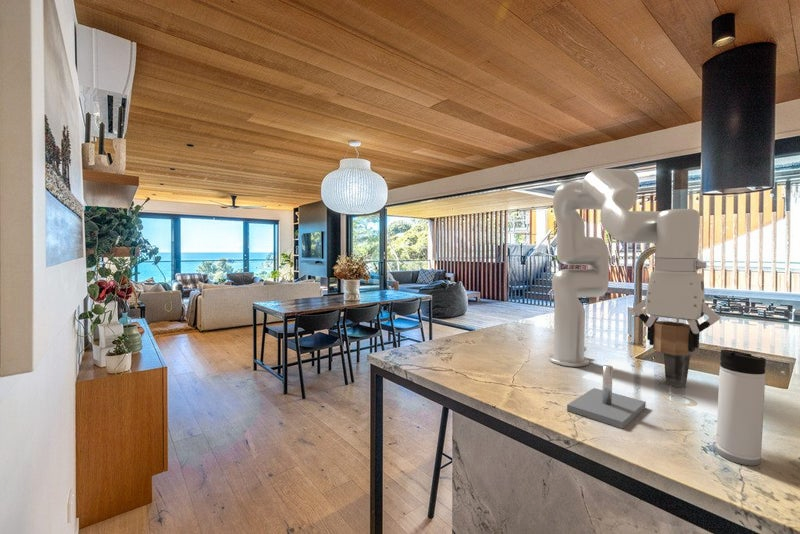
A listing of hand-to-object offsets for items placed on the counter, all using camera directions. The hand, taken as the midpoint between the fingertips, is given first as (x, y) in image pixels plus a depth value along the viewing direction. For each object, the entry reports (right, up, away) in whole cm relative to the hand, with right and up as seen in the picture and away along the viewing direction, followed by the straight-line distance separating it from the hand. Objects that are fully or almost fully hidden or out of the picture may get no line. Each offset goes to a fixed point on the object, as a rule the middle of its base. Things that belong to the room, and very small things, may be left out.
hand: (671, 346), depth 83 cm
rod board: (-10, -17, +8) cm, 21 cm away
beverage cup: (+18, -16, +24) cm, 34 cm away
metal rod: (-10, -15, +8) cm, 20 cm away
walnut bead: (0, -1, 0) cm, 1 cm away
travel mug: (+3, -18, -13) cm, 22 cm away
